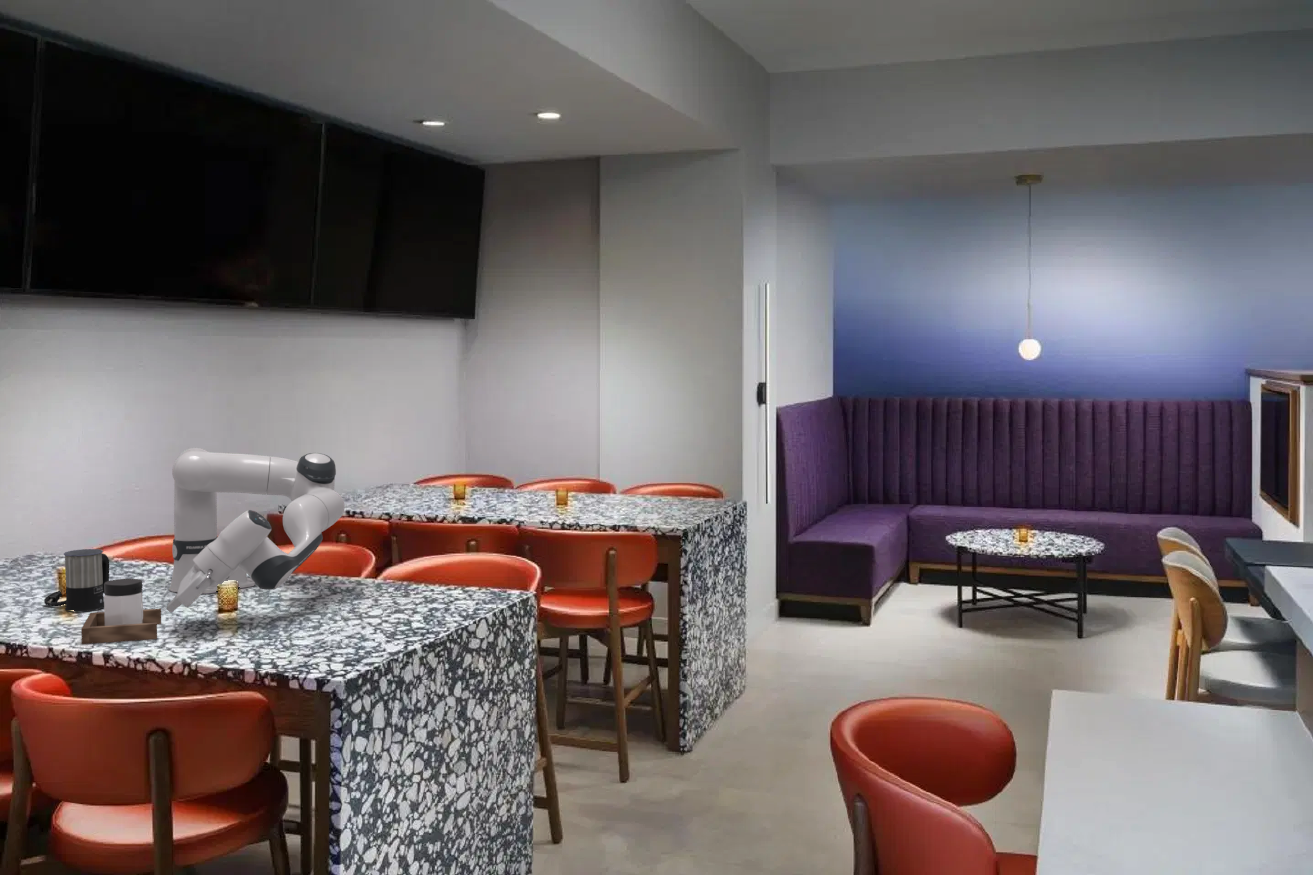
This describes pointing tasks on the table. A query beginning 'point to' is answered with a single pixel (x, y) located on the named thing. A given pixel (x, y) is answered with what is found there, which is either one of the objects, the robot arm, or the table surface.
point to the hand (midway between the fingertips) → (168, 609)
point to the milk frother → (83, 580)
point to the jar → (123, 602)
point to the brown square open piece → (120, 628)
